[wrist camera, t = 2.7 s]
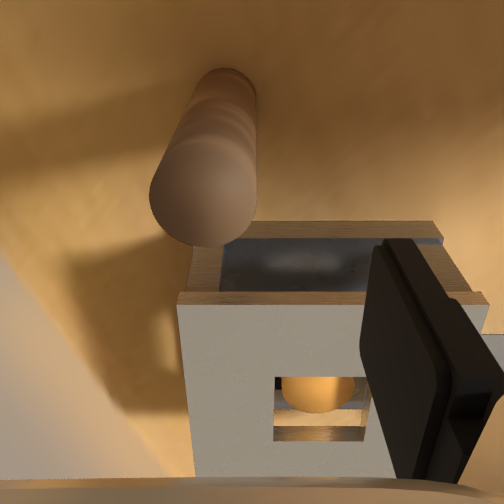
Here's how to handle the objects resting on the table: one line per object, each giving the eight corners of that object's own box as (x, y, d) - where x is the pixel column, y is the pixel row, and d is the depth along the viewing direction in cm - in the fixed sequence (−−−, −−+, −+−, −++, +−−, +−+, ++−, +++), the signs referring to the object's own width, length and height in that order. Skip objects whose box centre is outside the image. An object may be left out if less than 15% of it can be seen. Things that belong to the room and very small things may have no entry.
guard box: (432, 221, 28) (489, 304, 21) (396, 387, 35) (429, 489, 28) (195, 221, 28) (176, 305, 21) (208, 387, 35) (197, 489, 28)
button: (352, 336, 27) (358, 362, 25) (345, 386, 29) (350, 413, 27) (281, 336, 27) (283, 362, 25) (279, 386, 29) (281, 413, 27)
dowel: (256, 68, 23) (256, 149, 13) (256, 131, 25) (256, 247, 15) (192, 68, 24) (142, 150, 13) (196, 131, 25) (155, 247, 15)
